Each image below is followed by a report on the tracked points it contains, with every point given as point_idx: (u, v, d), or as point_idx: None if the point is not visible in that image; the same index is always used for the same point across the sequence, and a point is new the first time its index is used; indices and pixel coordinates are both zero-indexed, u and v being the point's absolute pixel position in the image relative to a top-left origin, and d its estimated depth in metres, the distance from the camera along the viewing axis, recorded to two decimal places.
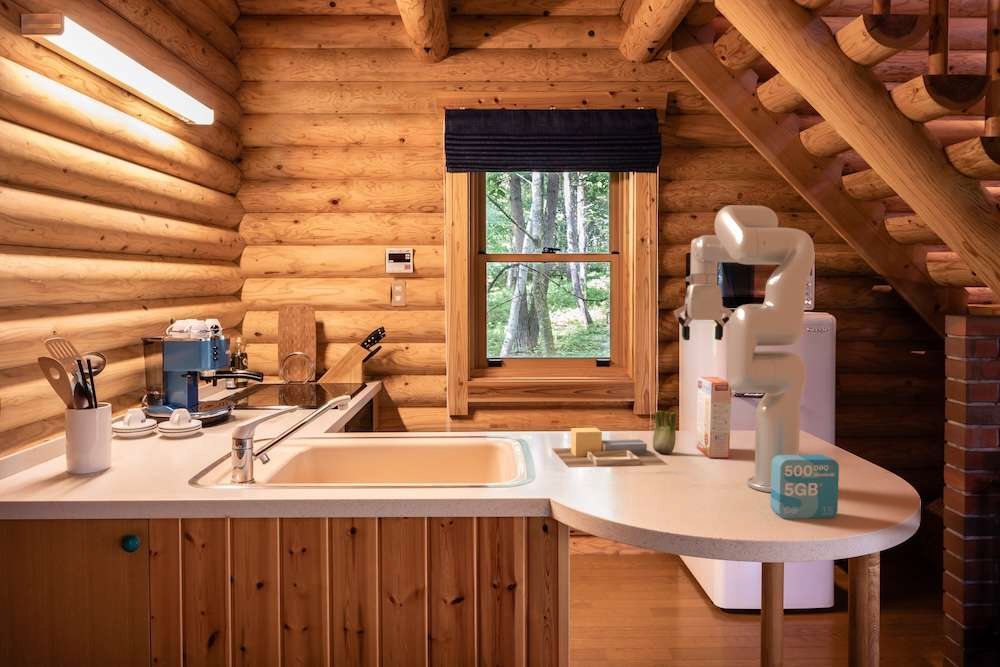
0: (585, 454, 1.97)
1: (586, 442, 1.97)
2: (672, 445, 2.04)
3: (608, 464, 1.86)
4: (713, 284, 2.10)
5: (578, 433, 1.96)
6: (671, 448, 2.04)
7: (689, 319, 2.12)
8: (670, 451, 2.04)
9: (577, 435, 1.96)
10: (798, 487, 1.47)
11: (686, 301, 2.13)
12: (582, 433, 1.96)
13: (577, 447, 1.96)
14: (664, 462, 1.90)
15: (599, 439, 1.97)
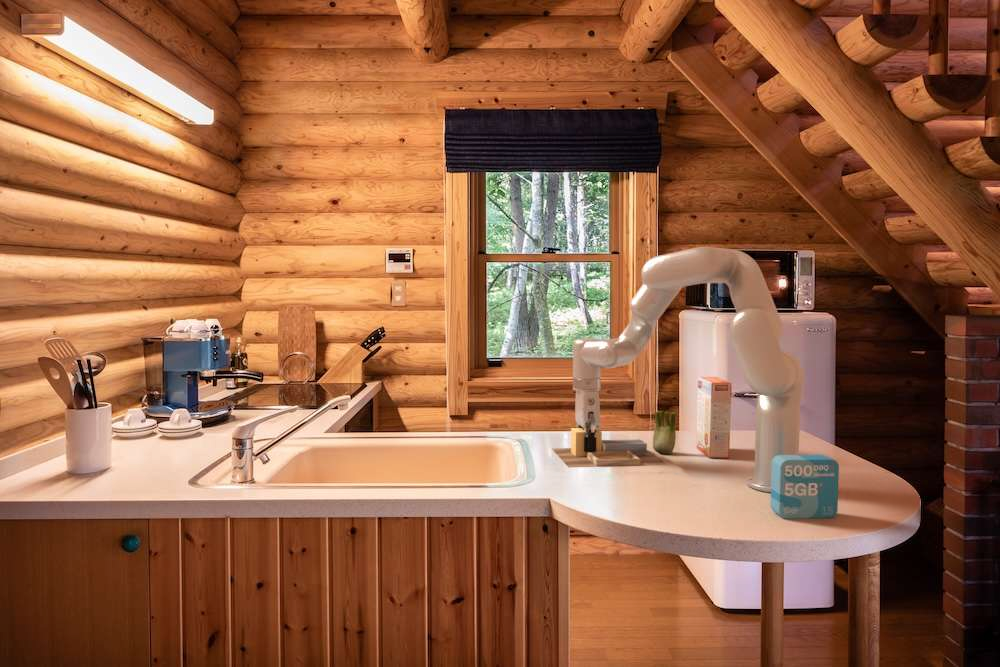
0: (585, 454, 1.97)
1: None
2: (672, 445, 2.04)
3: (608, 464, 1.86)
4: None
5: (578, 433, 1.96)
6: (671, 448, 2.04)
7: None
8: (670, 451, 2.04)
9: (577, 435, 1.96)
10: (798, 487, 1.47)
11: (589, 409, 1.94)
12: (582, 433, 1.96)
13: (577, 447, 1.96)
14: (664, 462, 1.90)
15: (599, 439, 1.97)
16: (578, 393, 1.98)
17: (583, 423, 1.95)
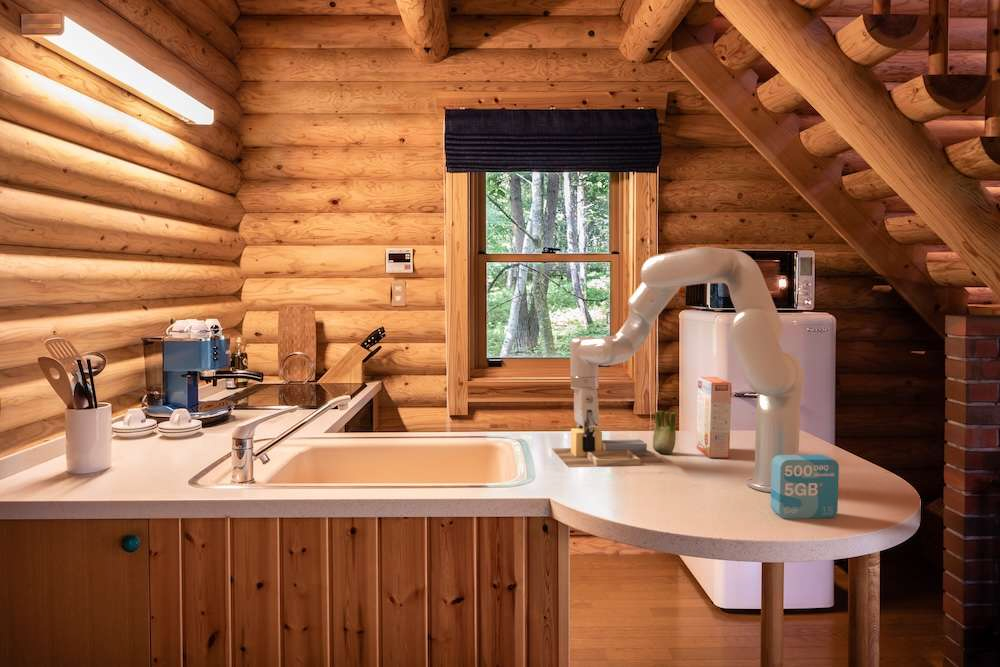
0: (585, 454, 1.96)
1: None
2: (672, 445, 2.04)
3: (608, 464, 1.86)
4: None
5: (578, 433, 1.96)
6: (671, 448, 2.04)
7: None
8: (670, 451, 2.04)
9: (577, 435, 1.96)
10: (798, 487, 1.47)
11: (587, 407, 1.94)
12: (582, 433, 1.96)
13: (577, 447, 1.96)
14: (664, 462, 1.90)
15: (599, 439, 1.97)
16: (576, 392, 1.97)
17: (582, 421, 1.94)
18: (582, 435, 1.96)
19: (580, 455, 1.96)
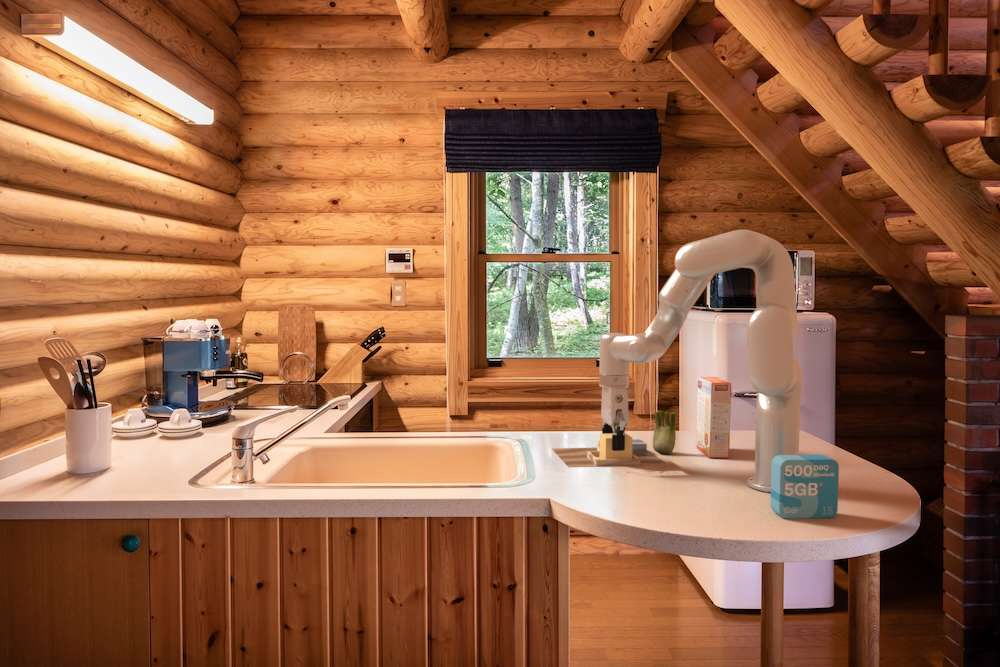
0: None
1: None
2: (672, 445, 2.04)
3: (608, 464, 1.86)
4: None
5: (608, 439, 1.88)
6: (671, 448, 2.04)
7: None
8: (670, 451, 2.04)
9: (607, 441, 1.88)
10: (798, 487, 1.47)
11: (617, 407, 1.86)
12: None
13: (607, 454, 1.88)
14: (664, 462, 1.90)
15: (629, 445, 1.89)
16: (605, 390, 1.89)
17: (611, 421, 1.86)
18: None
19: None
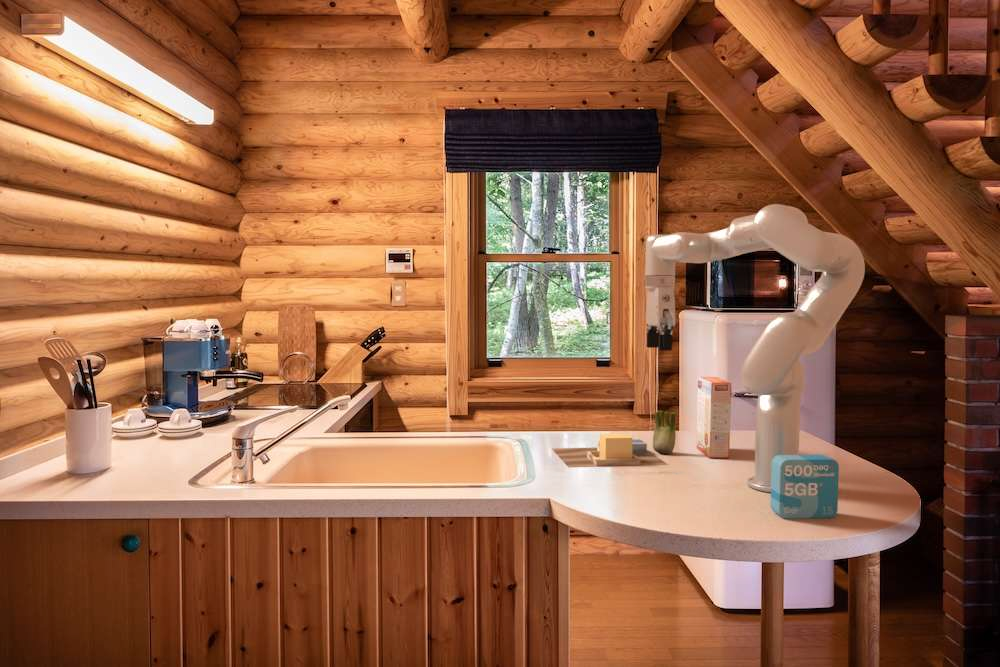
0: None
1: (616, 448, 1.88)
2: (672, 445, 2.04)
3: (608, 464, 1.86)
4: None
5: (608, 439, 1.88)
6: (671, 448, 2.04)
7: None
8: (670, 451, 2.04)
9: (607, 441, 1.88)
10: (798, 487, 1.47)
11: (664, 306, 1.86)
12: (612, 439, 1.88)
13: (607, 454, 1.88)
14: (664, 462, 1.90)
15: (629, 445, 1.89)
16: (651, 291, 1.90)
17: (658, 321, 1.87)
18: (612, 441, 1.88)
19: None
